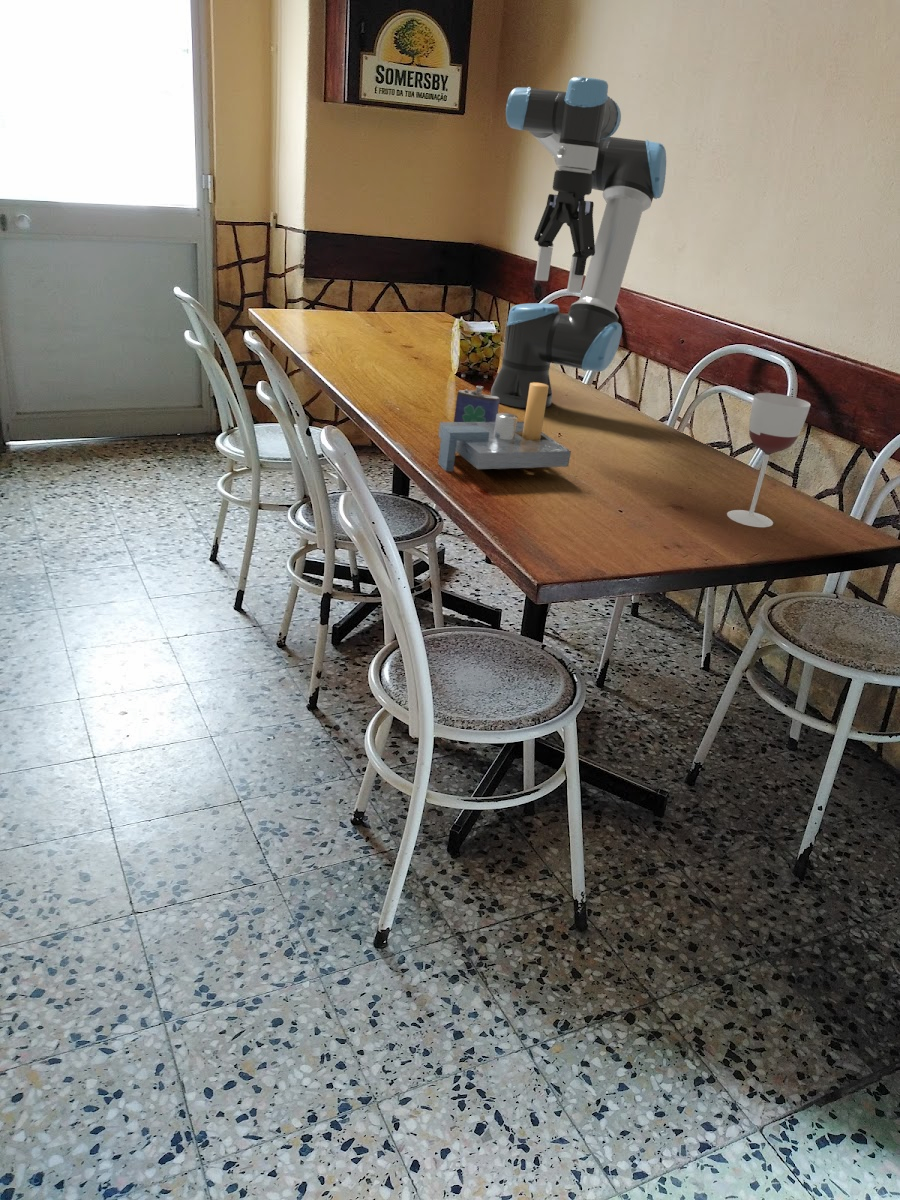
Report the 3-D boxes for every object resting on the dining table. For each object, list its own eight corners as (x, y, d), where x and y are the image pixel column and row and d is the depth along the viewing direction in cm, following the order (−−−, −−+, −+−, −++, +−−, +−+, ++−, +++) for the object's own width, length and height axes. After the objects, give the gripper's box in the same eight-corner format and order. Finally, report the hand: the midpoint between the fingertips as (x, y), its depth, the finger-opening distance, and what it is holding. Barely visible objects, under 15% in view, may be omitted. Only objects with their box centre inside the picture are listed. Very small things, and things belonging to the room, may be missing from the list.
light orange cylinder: (530, 462, 185) (543, 382, 178) (539, 468, 182) (552, 387, 175) (514, 462, 183) (526, 382, 176) (522, 468, 181) (535, 387, 173)
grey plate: (521, 449, 192) (528, 402, 187) (565, 481, 176) (574, 430, 172) (423, 451, 183) (428, 402, 179) (461, 485, 168) (468, 431, 163)
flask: (495, 437, 198) (502, 388, 193) (492, 441, 195) (499, 391, 190) (454, 430, 199) (459, 380, 195) (450, 433, 197) (456, 383, 192)
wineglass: (716, 507, 172) (746, 391, 163) (765, 511, 174) (797, 395, 164) (733, 525, 165) (765, 404, 155) (784, 529, 166) (819, 409, 156)
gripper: (527, 163, 185) (513, 274, 194) (591, 173, 165) (571, 296, 174) (560, 167, 188) (544, 276, 197) (626, 177, 168) (605, 298, 177)
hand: (556, 286), depth 186 cm, fingers open, 13 cm apart
